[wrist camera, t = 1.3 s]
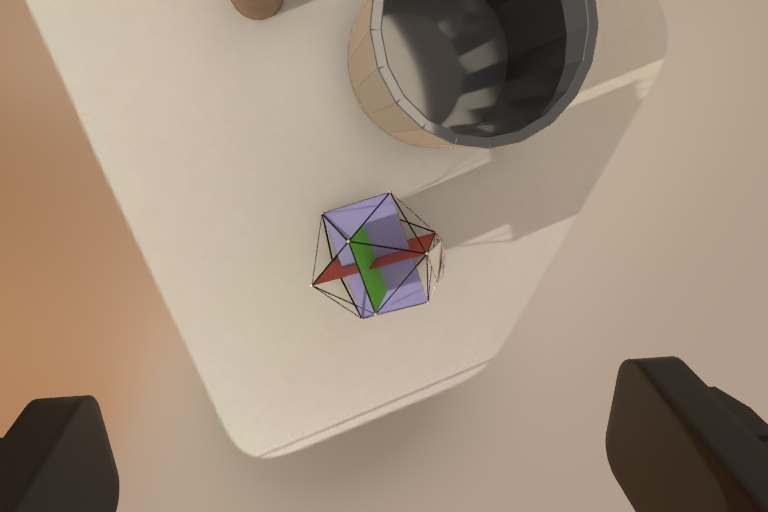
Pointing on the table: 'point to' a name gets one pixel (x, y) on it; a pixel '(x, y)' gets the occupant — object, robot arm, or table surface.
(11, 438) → the robot arm
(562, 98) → the tin
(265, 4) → the cylinder
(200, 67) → the table surface
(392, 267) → the geometric puzzle
